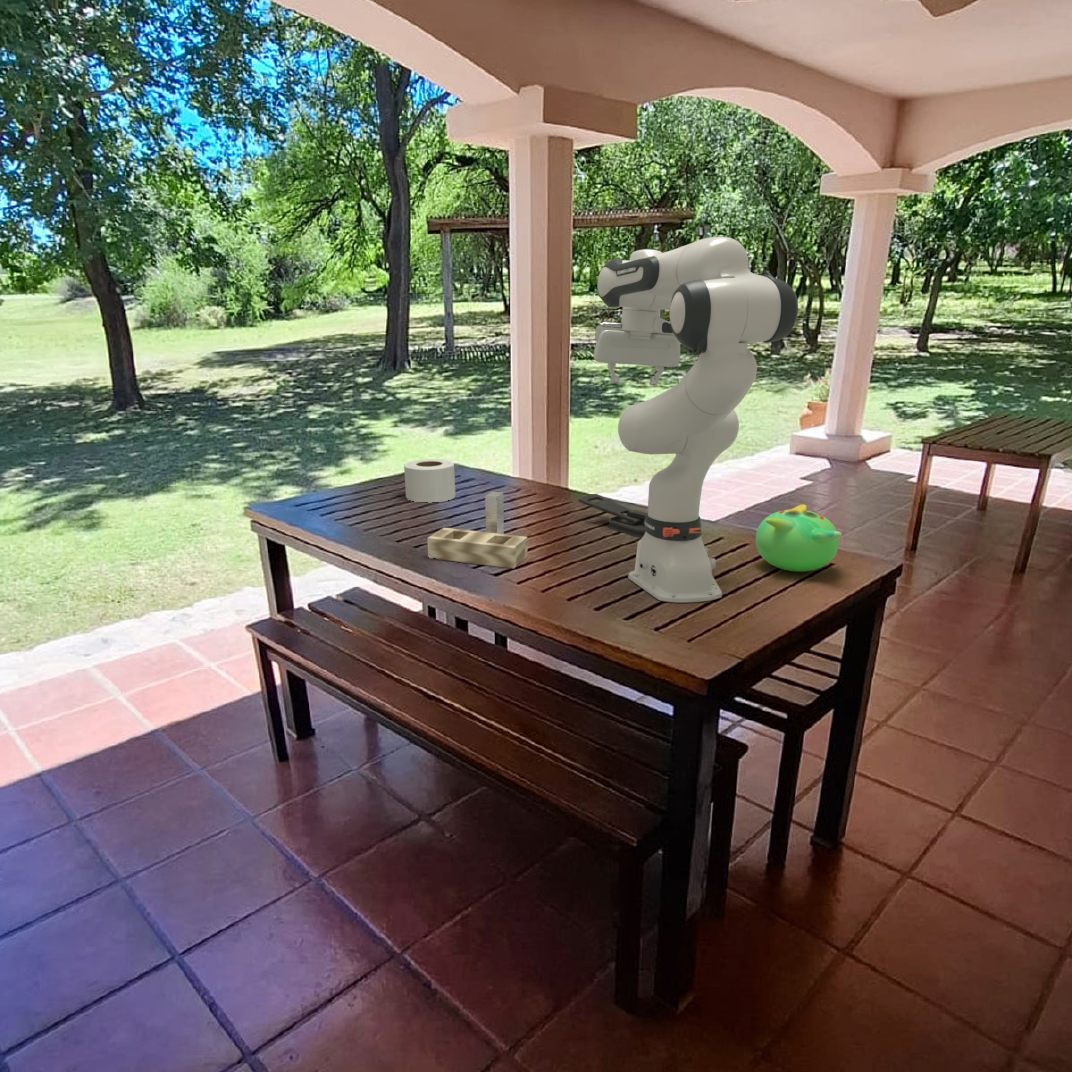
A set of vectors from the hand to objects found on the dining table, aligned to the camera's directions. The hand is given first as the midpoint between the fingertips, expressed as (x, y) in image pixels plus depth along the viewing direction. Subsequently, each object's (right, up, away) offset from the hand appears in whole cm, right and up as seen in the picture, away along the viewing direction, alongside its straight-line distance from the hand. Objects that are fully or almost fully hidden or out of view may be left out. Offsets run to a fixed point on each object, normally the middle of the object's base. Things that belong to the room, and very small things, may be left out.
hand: (633, 384), depth 177 cm
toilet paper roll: (-57, -24, +56) cm, 83 cm away
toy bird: (+36, -44, -6) cm, 57 cm away
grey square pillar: (-34, -38, +11) cm, 52 cm away
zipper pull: (-1, -34, +27) cm, 43 cm away
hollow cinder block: (-37, -41, +1) cm, 56 cm away
